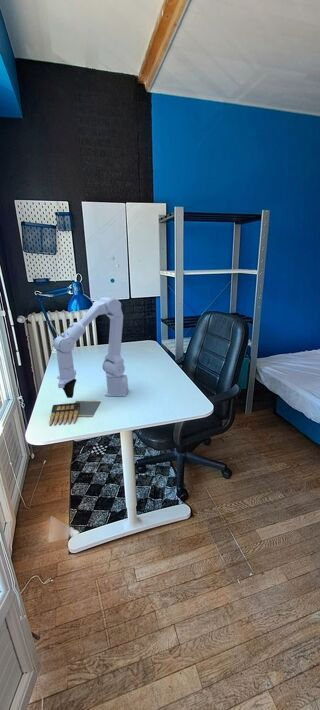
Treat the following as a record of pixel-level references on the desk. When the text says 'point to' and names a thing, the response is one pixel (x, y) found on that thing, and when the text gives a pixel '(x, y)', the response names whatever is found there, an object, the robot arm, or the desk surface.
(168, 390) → the desk surface
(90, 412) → the mat
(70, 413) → the ammunition clip
